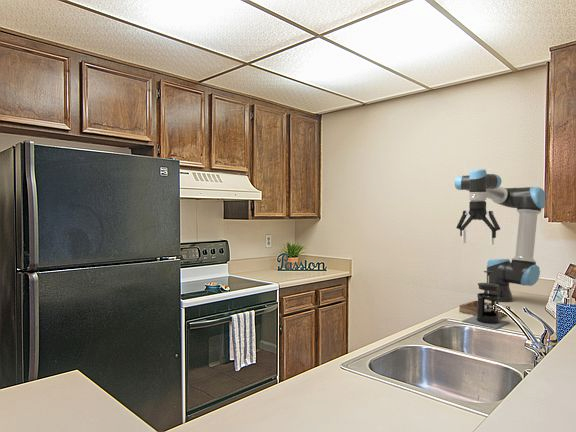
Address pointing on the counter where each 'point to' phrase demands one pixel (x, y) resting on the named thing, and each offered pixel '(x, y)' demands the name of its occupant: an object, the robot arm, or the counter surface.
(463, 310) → the cradle
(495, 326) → the mat
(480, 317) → the french press
